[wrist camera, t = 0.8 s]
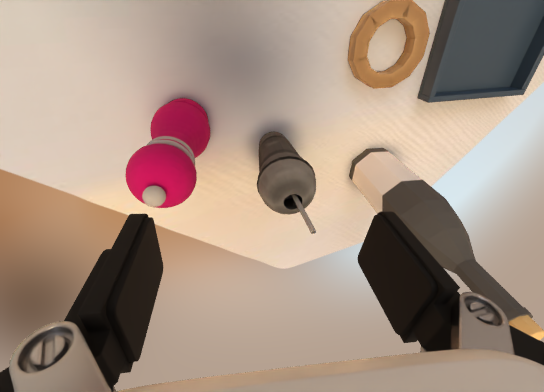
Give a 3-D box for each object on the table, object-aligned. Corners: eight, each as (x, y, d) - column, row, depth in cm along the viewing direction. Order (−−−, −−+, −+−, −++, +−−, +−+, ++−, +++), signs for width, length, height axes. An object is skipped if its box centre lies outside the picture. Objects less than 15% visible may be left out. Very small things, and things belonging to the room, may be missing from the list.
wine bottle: (393, 176, 47) (569, 342, 23) (352, 192, 48) (479, 369, 24) (389, 139, 43) (604, 298, 18) (344, 157, 43) (491, 334, 19)
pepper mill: (214, 100, 35) (202, 169, 19) (209, 147, 39) (195, 238, 23) (159, 88, 33) (93, 154, 17) (159, 139, 37) (105, 232, 21)
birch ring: (354, 2, 31) (361, 1, 29) (428, -1, 32) (439, -2, 30) (344, 87, 37) (349, 90, 35) (407, 82, 38) (415, 85, 36)
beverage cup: (259, 116, 37) (282, 190, 21) (302, 131, 40) (353, 208, 23) (244, 158, 41) (254, 250, 25) (285, 170, 43) (318, 260, 27)
